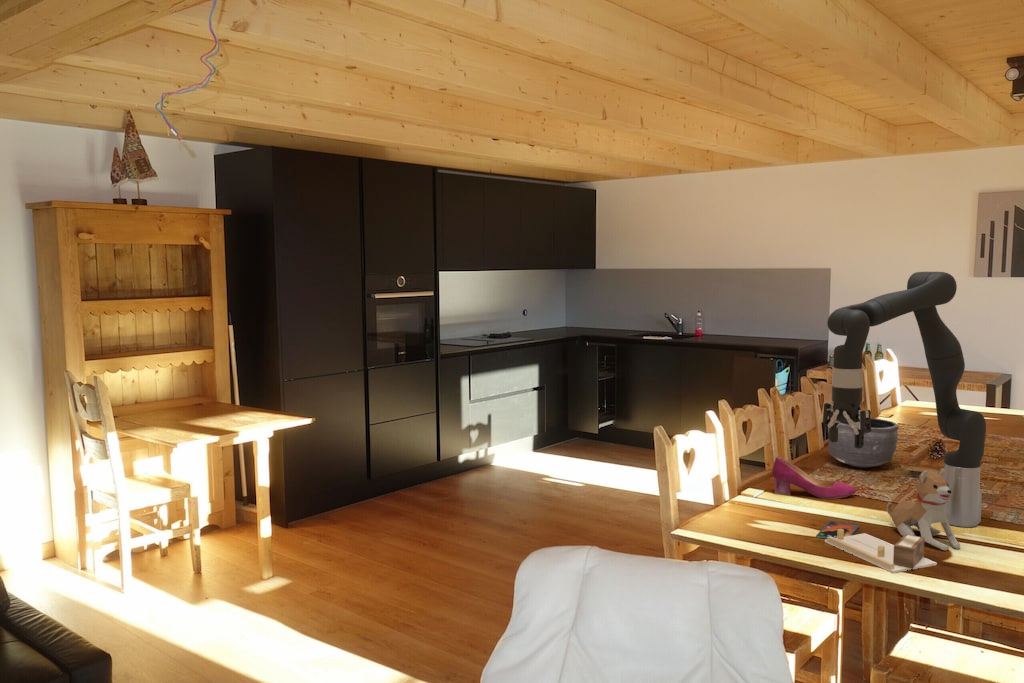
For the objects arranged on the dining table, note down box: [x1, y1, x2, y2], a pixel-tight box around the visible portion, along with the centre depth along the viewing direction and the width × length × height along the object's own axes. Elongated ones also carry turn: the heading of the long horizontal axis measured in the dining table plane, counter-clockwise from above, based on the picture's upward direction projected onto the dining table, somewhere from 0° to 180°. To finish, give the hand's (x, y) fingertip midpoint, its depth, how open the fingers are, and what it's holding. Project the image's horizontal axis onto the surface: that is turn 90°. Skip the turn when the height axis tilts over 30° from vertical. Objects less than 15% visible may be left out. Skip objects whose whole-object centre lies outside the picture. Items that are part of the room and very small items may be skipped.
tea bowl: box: [827, 417, 899, 469], centre depth 300 cm, size 25×22×17 cm
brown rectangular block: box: [893, 534, 926, 570], centre depth 204 cm, size 11×4×5 cm, turn 140°
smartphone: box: [815, 520, 860, 540], centre depth 228 cm, size 8×1×15 cm
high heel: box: [772, 456, 857, 500], centre depth 263 cm, size 26×9×12 cm, turn 71°
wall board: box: [824, 529, 938, 574], centre depth 211 cm, size 14×24×3 cm, turn 20°
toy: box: [886, 467, 961, 551], centre depth 222 cm, size 10×24×20 cm, turn 16°
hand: (845, 444), depth 214 cm, fingers open, 8 cm apart
